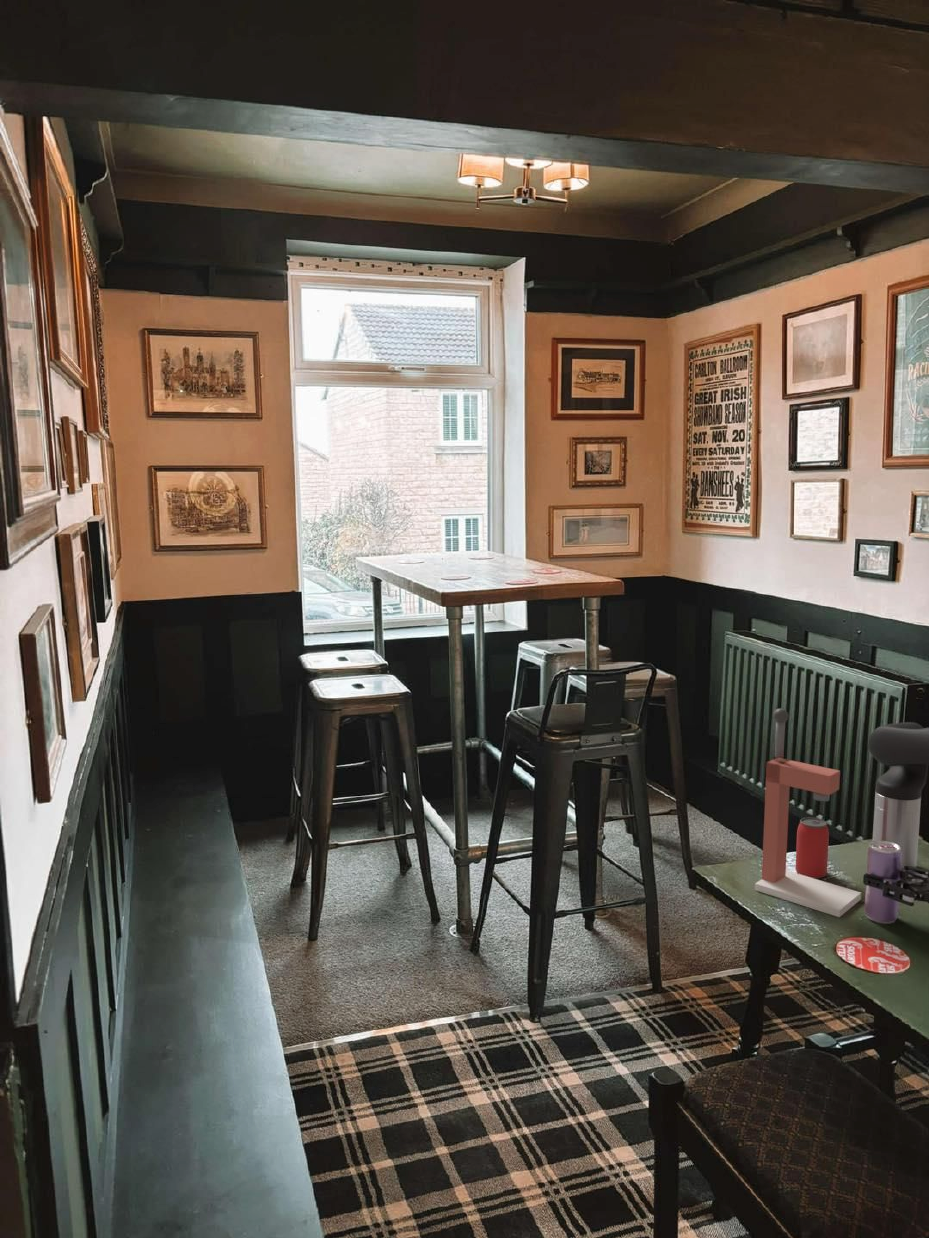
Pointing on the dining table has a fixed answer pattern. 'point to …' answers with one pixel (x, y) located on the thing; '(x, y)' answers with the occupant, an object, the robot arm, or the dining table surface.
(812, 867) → the beer can
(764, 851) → the bench press
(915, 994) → the dining table surface
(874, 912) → the beverage can
